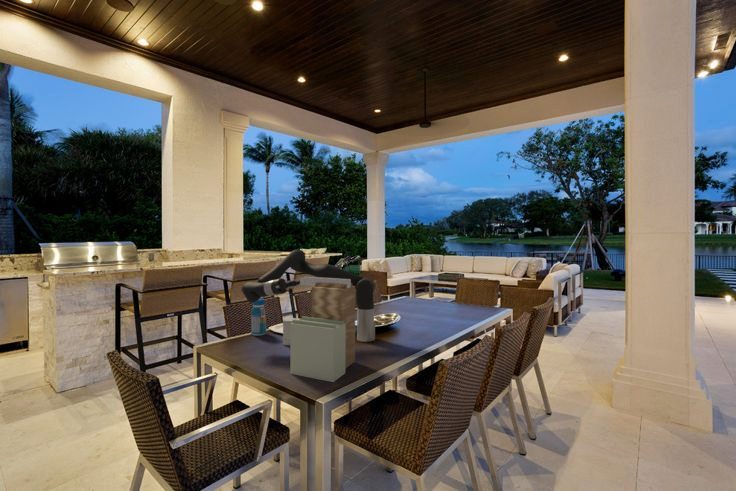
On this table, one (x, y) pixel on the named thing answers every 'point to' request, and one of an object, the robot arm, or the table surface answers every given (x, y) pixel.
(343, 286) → the oak stand
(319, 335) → the sage dock
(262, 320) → the beverage bottle
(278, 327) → the plate
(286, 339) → the supplement box
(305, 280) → the steel bar
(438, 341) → the table surface
